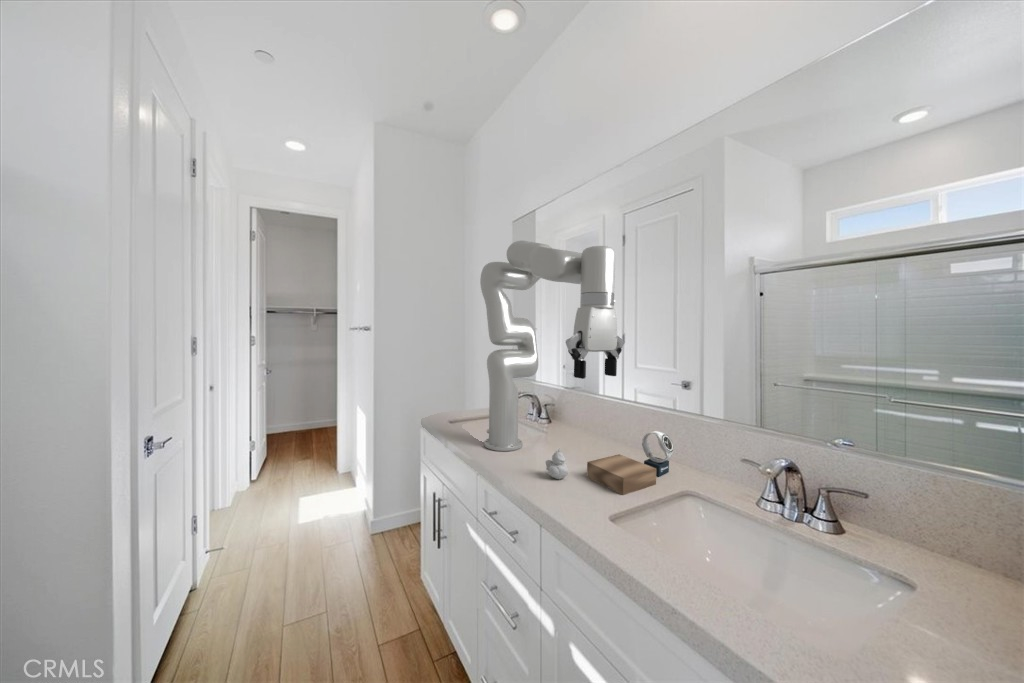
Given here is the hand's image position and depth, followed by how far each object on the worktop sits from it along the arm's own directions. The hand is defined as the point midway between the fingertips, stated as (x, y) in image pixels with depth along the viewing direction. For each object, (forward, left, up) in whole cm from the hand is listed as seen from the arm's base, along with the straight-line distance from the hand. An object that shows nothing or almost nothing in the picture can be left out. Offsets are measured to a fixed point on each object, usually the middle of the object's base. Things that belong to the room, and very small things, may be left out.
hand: (595, 376), depth 84 cm
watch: (-2, +25, -28) cm, 38 cm away
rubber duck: (-13, -1, -28) cm, 31 cm away
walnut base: (-3, +12, -28) cm, 30 cm away
